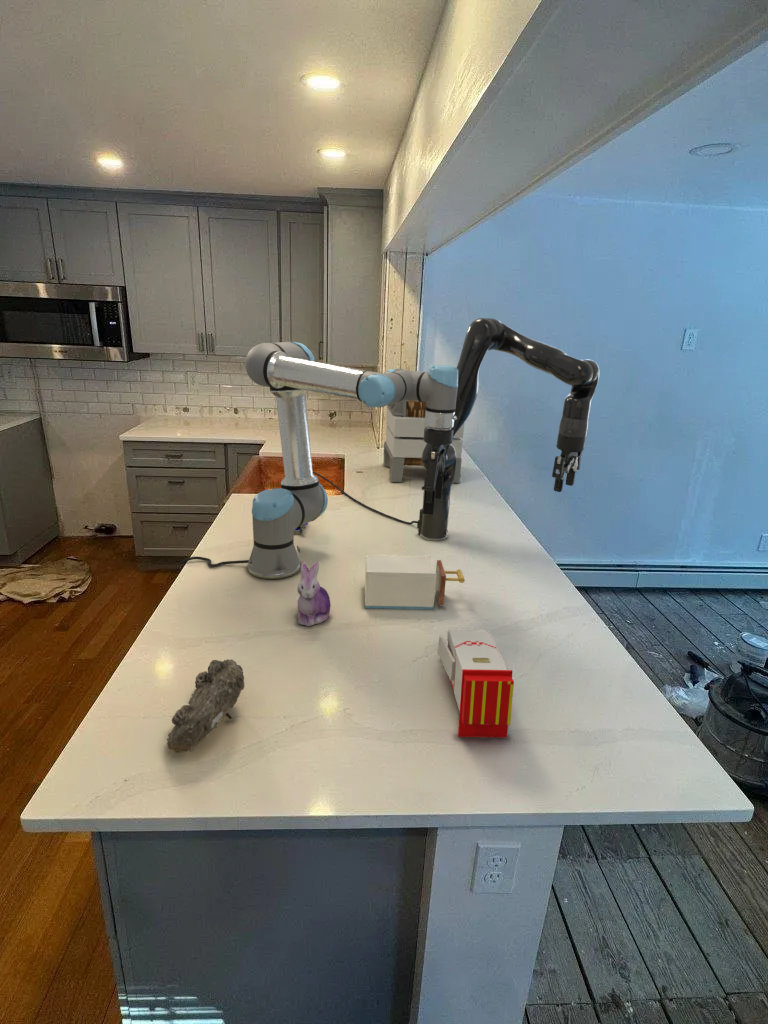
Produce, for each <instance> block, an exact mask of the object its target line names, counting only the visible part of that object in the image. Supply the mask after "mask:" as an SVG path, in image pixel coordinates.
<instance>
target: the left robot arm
mask: <svg viewBox="0 0 768 1024" xmlns="http://www.w3.org/2000/svg"><path fill="white" fill-rule="evenodd" d="M244 366H245V371H246V373H247V376H248V377H249V379H250V380H251V381H252V382H254V383H255V384H256V385H258V386H261V387H267V388H269V392H270V394H272V395H274V397H275V400H276V401H275V402H276V410H277V418H278V419H277V420H278V427H279V436H280V444H281V454H282V463H283V472H284V476H283V478H282V479H281V481H280V487H276V488H275V487H274V488H271V489H269V488H268V489H264V490H262V491H260V492H258V493H257V494H256V495H255V496H254V497H253V498H252V505H251V506H252V507H251V515H252V519H251V520H252V535H253V536H252V537H253V546H252V550H251V552H250V556H249V559H244V560H243V559H242V560H241V559H240V560H227V561H220V562H216V563H212V560H211V559H210V558H208V557H204V556H189V557H187V558H185V559H184V560H182V561H181V564H186V563H187V562H190V561H195V560H199V561H205V562H207V565H208V567H211V568H217V567H220V566H224V565H235V564H236V565H237V564H247V567H248V568H247V571H248V573H249V574H250V575H252V576H254V577H256V578H259V579H264V580H280V579H282V580H283V579H286V578H290V577H292V576H294V575H296V574H297V573H298V572H299V571H301V560H300V557H299V555H298V553H299V554H301V547H300V546H299V545H295V535H294V534H295V530H294V529H296V528H298V527H300V526H302V525H304V524H306V523H308V524H309V523H311V522H313V521H315V520H317V519H318V518H320V517H321V516H323V514H324V513H325V511H326V509H327V507H328V503H329V502H328V501H329V499H328V493H327V491H326V489H325V488H324V486H323V485H322V484H321V483H320V480H319V479H320V478H319V477H318V476H317V475H316V474H314V473H313V472H314V471H313V461H312V460H313V459H312V450H311V449H312V448H311V438H310V437H311V436H310V429H309V427H310V426H309V419H308V417H309V416H308V408H307V397H306V395H307V393H308V392H313V393H318V394H322V395H328V396H332V397H337V398H341V399H342V398H343V399H348V400H352V401H358V402H362V403H363V404H364V405H365V406H367V407H369V408H384V407H387V405H390V404H393V403H398V402H402V401H406V400H411V401H420V402H426V410H425V423H424V424H425V426H427V427H425V428H424V439H423V440H424V442H426V443H428V444H431V445H432V447H431V448H430V450H429V452H428V462H427V469H426V470H425V477H424V482H423V486H421V490H422V491H423V492H424V490H425V492H424V505H423V504H422V506H423V514H430V515H433V514H434V504H435V498H437V499H441V497H442V486H443V476H442V475H446V471H444V470H445V452H446V450H445V445H449V444H451V443H452V442H453V429H452V427H454V420H456V419H457V416H454V414H455V407H456V398H457V389H458V369H457V366H454V365H446V364H431V365H429V367H428V370H427V371H418V370H410V369H404V368H390V369H388V370H387V371H386V372H376V371H371V370H366V369H360V368H354V367H348V366H343V365H337V364H331V363H327V362H326V363H325V362H320V361H316V359H315V357H314V354H313V353H312V351H311V350H310V349H309V348H308V347H307V346H306V345H305V344H303V343H301V342H298V341H290V340H289V341H288V340H287V341H280V342H278V341H277V342H262V343H259V344H255V346H253V347H252V348H251V349H250V350H249V351H248V353H247V355H246V356H245V362H244ZM429 485H432V486H429Z"/></svg>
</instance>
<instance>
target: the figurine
mask: <svg viewBox="0 0 768 1024" xmlns="http://www.w3.org/2000/svg"><path fill="white" fill-rule="evenodd" d="M319 569H320V562H319V561H315V562H314V563H313V564H312V565H311V568H310V569H309V567H308V565H307V563H306V562H302V563H300V579H299V581H298V584H297V593H298V594H299V597H298V599H297V612H298V613H297V618H298V621H297V622H298V624H299V625H302V626H303V625H304V626H307V627H310V626H315V625H317V624H319V625H320V624H321V623H323V622H324V621H326V620H328V618H329V617H330V613H331V598H330V595H329V593H328V591H327V589H325V588H324V587H322V586H321V584H320V582H319V580H318V578H317V576H318V574H319V571H320V570H319Z"/></svg>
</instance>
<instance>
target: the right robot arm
mask: <svg viewBox="0 0 768 1024" xmlns="http://www.w3.org/2000/svg"><path fill="white" fill-rule="evenodd" d="M490 351H498V352H503V353H506V354H509V355H511V356H514V357H516V358H518V359H519V360H521V361H522V362H523V363H525V364H527V365H528V366H530V367H532V368H534V369H536V370H539V371H541V372H543V373H545V374H548V375H551V376H553V377H554V378H556V379H558V380H559V381H561V382H562V383H564V384H565V385H568V386H571V389H570V392H569V394H568V395H567V396H566V397H565V398H564V402H563V408H562V412H561V413H562V414H561V418H560V422H559V426H558V433H557V439H556V449H558V450H559V451H561V452H560V454H559V456H557V455H556V456H555V457H554V462H553V469H552V474H551V477H552V478H554V484H553V491H554V492H557V493H562V491H563V487H564V482H565V485H566V486H569V487H572V486H574V483H575V478H576V474H577V472H578V471H580V468H581V461H582V456H583V452H584V450H585V445H586V441H587V436H588V435H587V433H588V429H589V428H588V427H589V417H590V411H591V403H592V400H593V398H594V395H595V392H596V389H597V386H598V384H599V379H600V367H599V365H598V363H597V362H596V361H594V360H593V359H588V358H587V359H580V358H579V359H578V358H576V357H573V356H570V355H568V354H567V353H566V352H565V351H563V350H562V349H560V348H557V347H555V346H553V345H550V344H547V343H544V342H542V341H538V340H536V339H534V338H530V337H528V336H526V335H524V334H522V333H519V332H518V331H516V330H514V329H513V328H512V327H509V325H507V324H505V323H503V322H502V321H500V320H499V319H497V318H491V317H490V318H489V317H479V318H476V319H474V320H473V321H471V323H470V324H469V325H468V328H467V331H466V334H465V338H464V341H463V344H462V348H461V353H460V356H459V360H458V363H457V366H456V368H457V369H458V389H457V398H456V407H455V414H454V416H457V419H456V420H454V427H452V429H453V437H454V435H455V434H456V432H457V431H458V430H459V429H460V427H461V426H462V425H463V423H464V424H465V423H466V421H467V420H468V418H469V416H470V414H471V413H472V411H473V408H474V406H475V403H476V401H477V399H478V398H477V397H478V394H479V372H480V369H481V366H482V363H483V360H484V358H485V356H486V354H487V352H490ZM431 447H432V445H431V444H428V443H427V444H426V446H425V448H424V450H423V453H422V465H423V466H422V467H423V469H424V470H425V471H426V469H427V462H428V452H429V450H430V448H431ZM445 450H446V452H445V470H444V471H446V475H442V476H443V486H442V497H441V499H437V498H435V504H434V514H433V515H430V514H423V505H424V492H425V490H423V493H422V496H423V497H422V506H421V508H420V509H419V516H418V520H412V521H411V522H410V521H409V522H408V521H406V520H402V519H399V518H397V517H394V516H391V515H389V514H386V513H384V512H381V511H379V510H377V509H375V508H373V507H370V506H368V505H366V504H364V503H362V502H361V501H360V500H357V499H356V498H354V497H353V496H352V495H350V494H348V493H347V492H346V491H344V490H343V489H341V488H340V487H338V486H337V485H336V484H334V483H333V482H332V481H330V480H329V479H328V478H326V477H325V476H323V475H321V474H320V473H317V472H315V471H313V474H314V475H315V476H317V477H320V478H322V479H323V480H325V481H326V482H327V483H329V484H330V485H331V486H333V487H334V488H336V489H337V490H338V491H340V492H341V493H342V494H343V495H345V496H346V497H348V498H349V499H351V501H354V502H355V503H357V504H359V505H360V506H362V507H364V508H365V509H368V510H370V511H371V512H372V511H373V512H374V513H377V514H379V515H382V516H384V517H386V518H389V519H391V520H394V521H397V522H400V523H402V524H405V525H413V524H416V528H417V529H418V530H417V535H418V536H420V538H421V539H424V540H426V541H432V542H440V541H444V540H446V539H447V538H448V532H449V529H448V525H449V517H450V516H449V514H450V504H451V494H452V493H451V491H452V486H453V484H454V483H453V481H454V476H455V469H456V460H457V457H456V451H455V449H454V447H453V446H452V445H451V444H449V445H445ZM564 480H565V481H564ZM429 486H432V485H429Z"/></svg>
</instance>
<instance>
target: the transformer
mask: <svg viewBox="0 0 768 1024" xmlns="http://www.w3.org/2000/svg"><path fill="white" fill-rule="evenodd" d="M425 410H426V402H420V401H411V400H406V401H402V402H398V403H393V404H390V405H386V413H385V414H386V415H385V423H386V428H385V438H384V442H383V466H384V467H388V468H389V475H388V476H389V477H388V478H389V480H390V482H391V483H402V482H403V475H404V469H405V466H406V467H407V466H411V467H412V466H413V467H415V466H416V467H417V466H418V467H423V465H422V453H423V450H424V448H425V446H426V444H427V443H426V442H424V440H423V439H424V428H425V427H427V426H425V424H424V423H425ZM464 429H465V422H464V423H463V425H462V426H461V427H460V429H459V430H458V431H457V432H456V434H455V435H454V437H453V442H452V443H451V445H452V446H453V447H454V449H455V451H456V457H457V460H456V469H455V476H454V481H453V484H455V483H456V484H459V483H461V472H462V461H463V460H462V453H463V442H464V441H463V440H462V439H463V438H464V431H465V430H464Z"/></svg>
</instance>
